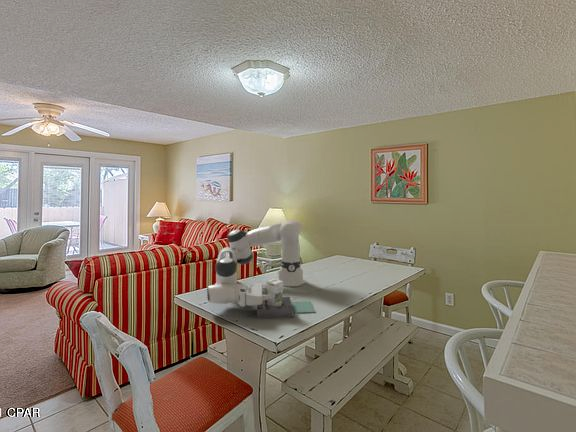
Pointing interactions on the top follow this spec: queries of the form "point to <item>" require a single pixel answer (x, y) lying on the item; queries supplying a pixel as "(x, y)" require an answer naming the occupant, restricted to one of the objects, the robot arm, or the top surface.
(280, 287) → the syrup box
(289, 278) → the robot arm
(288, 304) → the iron collar
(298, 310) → the rubber mat
